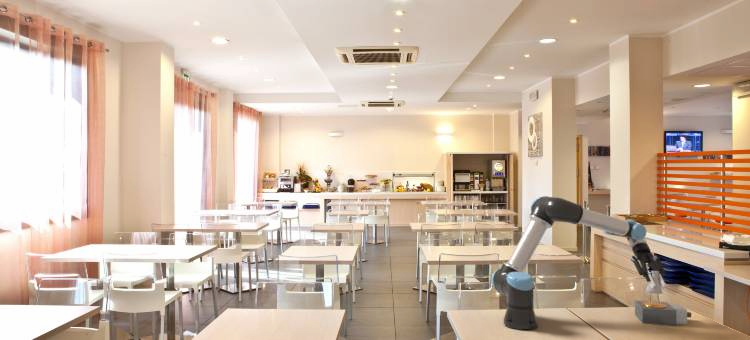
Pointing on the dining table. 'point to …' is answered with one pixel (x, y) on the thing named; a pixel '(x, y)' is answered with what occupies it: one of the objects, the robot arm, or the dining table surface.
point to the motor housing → (661, 313)
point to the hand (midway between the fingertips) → (658, 287)
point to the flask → (657, 288)
